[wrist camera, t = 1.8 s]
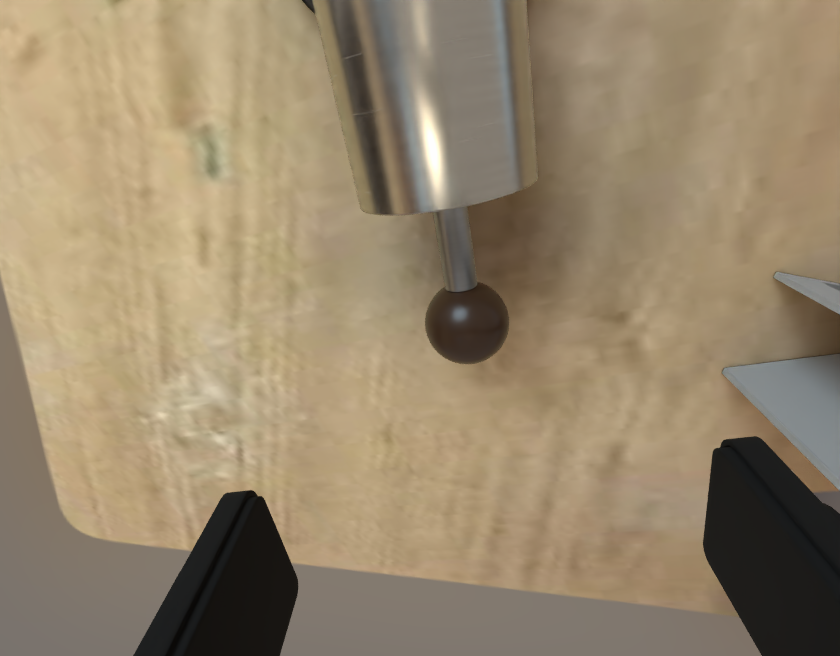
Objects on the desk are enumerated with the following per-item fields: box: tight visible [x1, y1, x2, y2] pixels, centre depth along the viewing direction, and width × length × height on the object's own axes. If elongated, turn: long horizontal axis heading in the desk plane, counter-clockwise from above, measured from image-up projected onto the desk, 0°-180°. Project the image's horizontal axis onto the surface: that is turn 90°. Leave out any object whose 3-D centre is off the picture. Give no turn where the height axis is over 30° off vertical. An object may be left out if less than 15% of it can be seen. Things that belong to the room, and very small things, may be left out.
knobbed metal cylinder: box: [313, 0, 538, 364], centre depth 15 cm, size 17×6×6 cm, turn 10°
